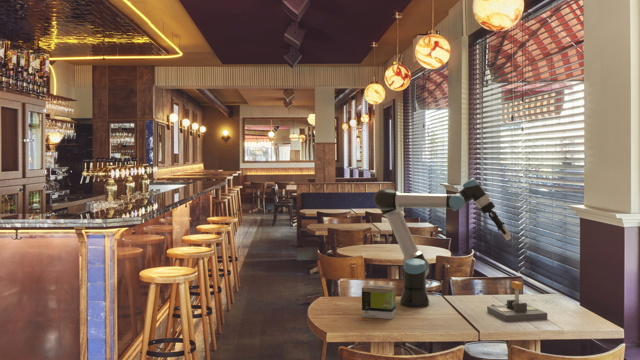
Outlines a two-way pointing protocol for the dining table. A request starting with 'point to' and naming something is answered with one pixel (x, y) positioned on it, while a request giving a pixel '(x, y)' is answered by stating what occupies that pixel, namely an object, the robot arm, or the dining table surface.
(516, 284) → the breaker lever
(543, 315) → the breaker box
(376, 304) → the tea box
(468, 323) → the dining table surface
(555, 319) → the dining table surface
